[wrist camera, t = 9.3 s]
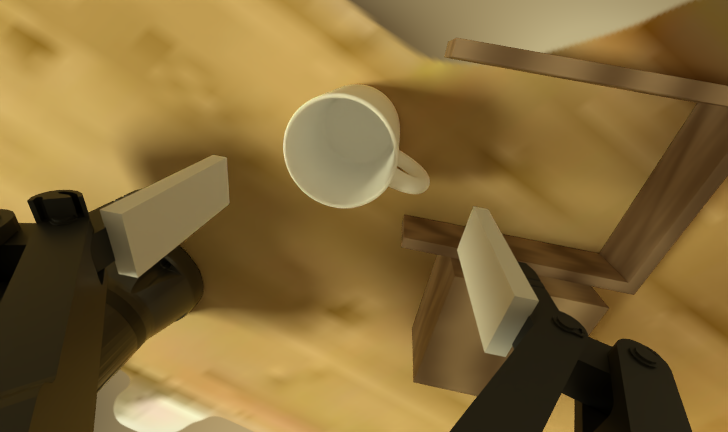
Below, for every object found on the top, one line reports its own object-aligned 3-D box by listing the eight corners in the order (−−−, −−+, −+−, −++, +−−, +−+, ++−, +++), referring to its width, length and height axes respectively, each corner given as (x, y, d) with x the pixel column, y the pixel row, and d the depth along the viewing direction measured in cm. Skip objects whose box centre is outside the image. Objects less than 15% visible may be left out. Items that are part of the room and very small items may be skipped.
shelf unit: (377, 320, 42) (371, 372, 35) (448, 41, 26) (463, 34, 19) (541, 355, 41) (569, 416, 34) (722, 90, 25) (846, 102, 18)
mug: (448, 132, 29) (468, 164, 20) (402, 197, 33) (401, 249, 24) (342, 65, 28) (311, 66, 19) (306, 141, 31) (266, 173, 22)
